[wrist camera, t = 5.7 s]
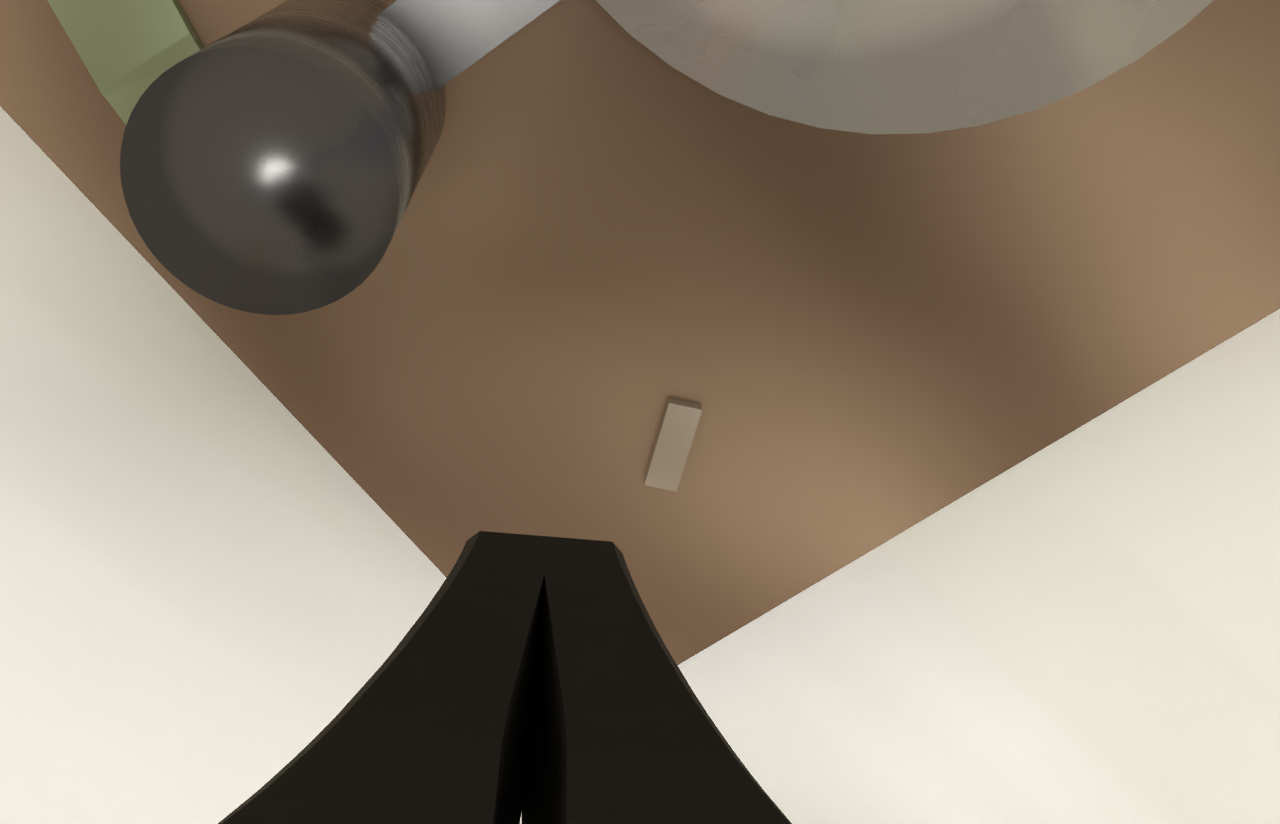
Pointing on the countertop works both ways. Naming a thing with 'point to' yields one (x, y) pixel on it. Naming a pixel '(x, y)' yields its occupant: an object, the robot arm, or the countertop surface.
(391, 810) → the robot arm
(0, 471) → the countertop surface
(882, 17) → the dial
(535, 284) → the plate
